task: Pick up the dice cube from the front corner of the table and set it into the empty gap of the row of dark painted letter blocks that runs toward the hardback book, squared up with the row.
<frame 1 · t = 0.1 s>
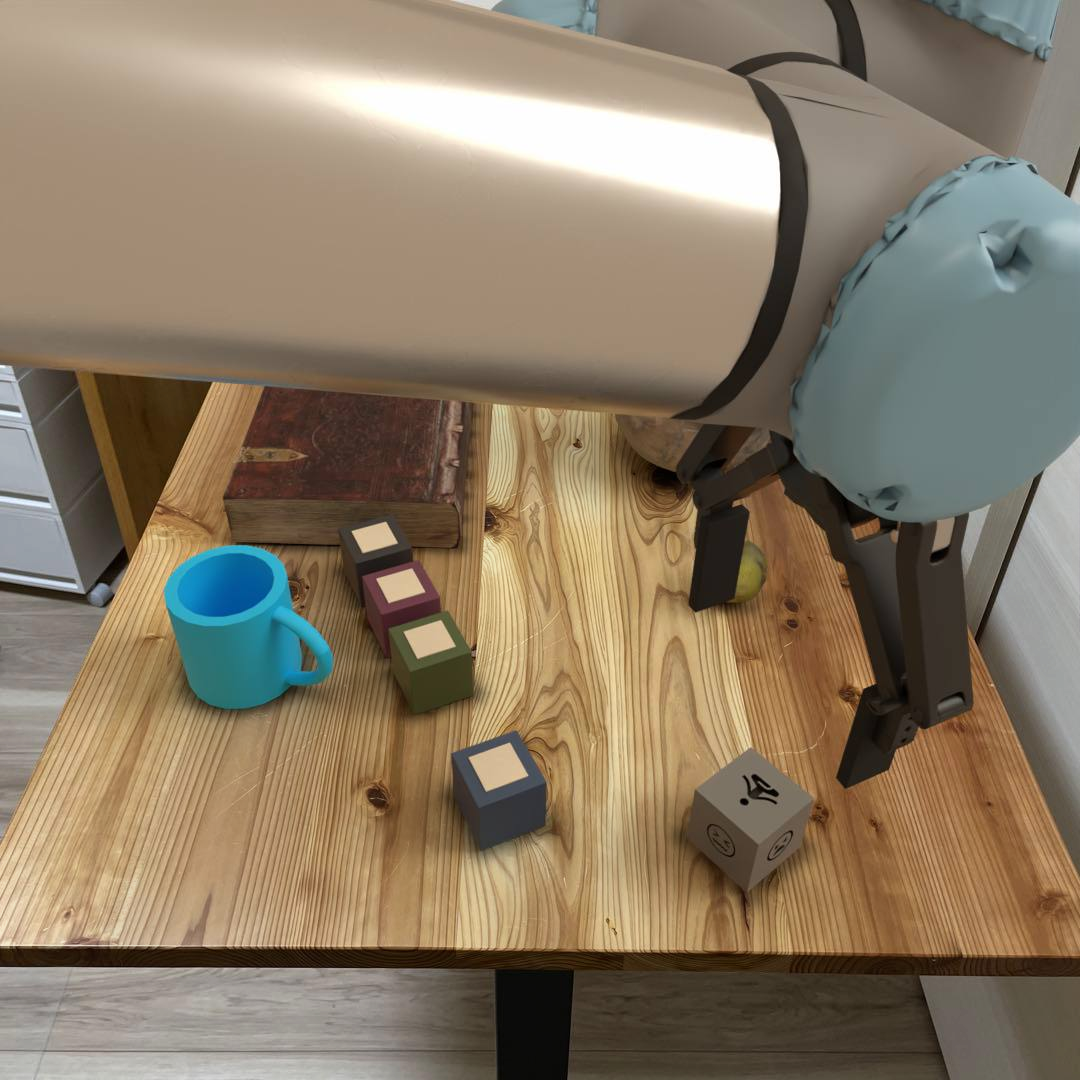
hand: (780, 681, 57), 15 cm above the table, tool pointing down, fingers open, 13 cm apart
bowl: (691, 453, 99), on the table
block c: (404, 629, 81), on the table
teapot: (445, 267, 128), on the table
hardback book: (369, 446, 99), on the table
dice cube: (742, 844, 67), on the table
block a: (499, 811, 69), on the table
mug: (268, 676, 77), on the table
block b: (432, 683, 77), on the table
block d: (379, 581, 85), on the table
lime: (734, 596, 85), on the table
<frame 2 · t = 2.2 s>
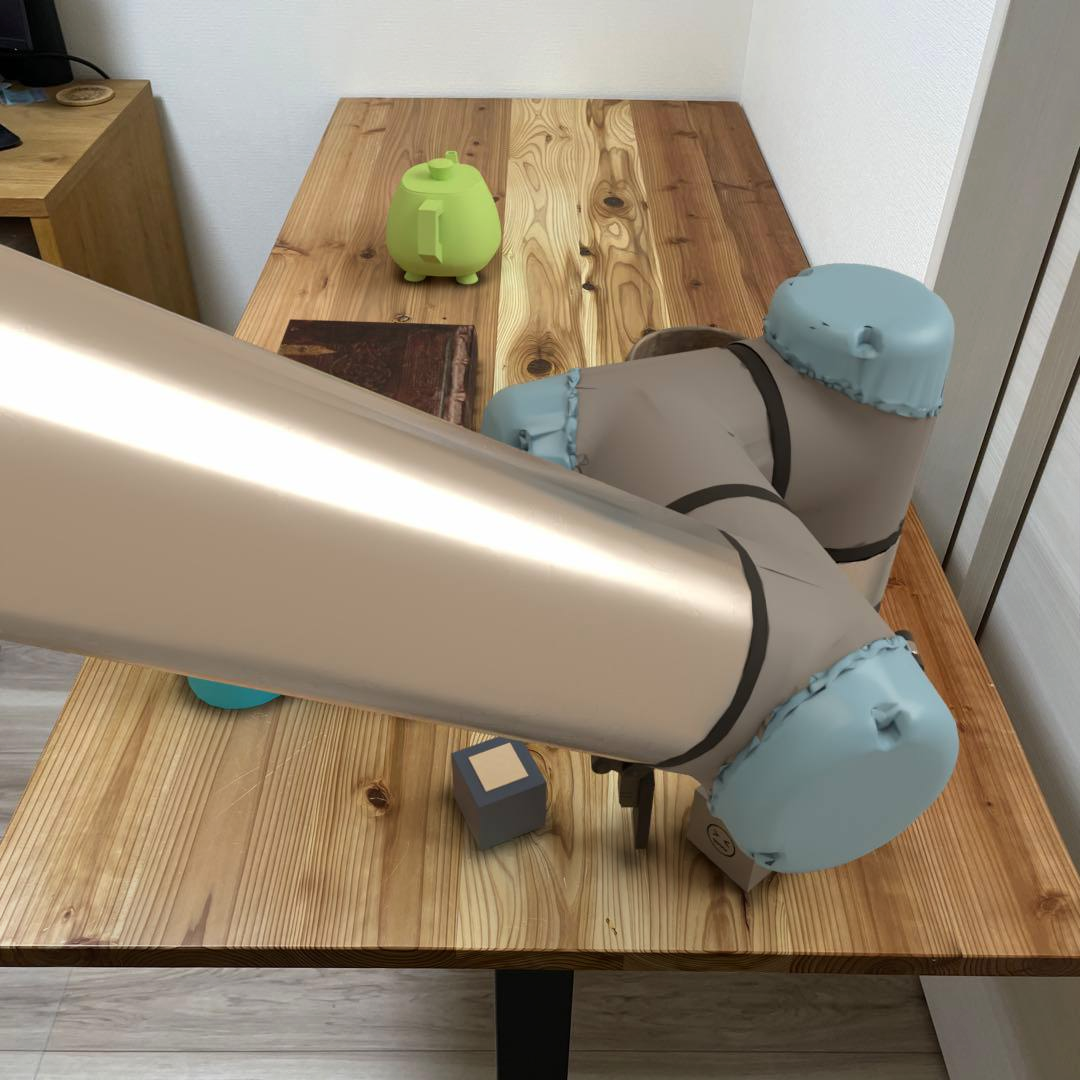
hand: (749, 831, 66), 1 cm above the table, tool pointing down, fingers open, 13 cm apart
nothing on the table moved.
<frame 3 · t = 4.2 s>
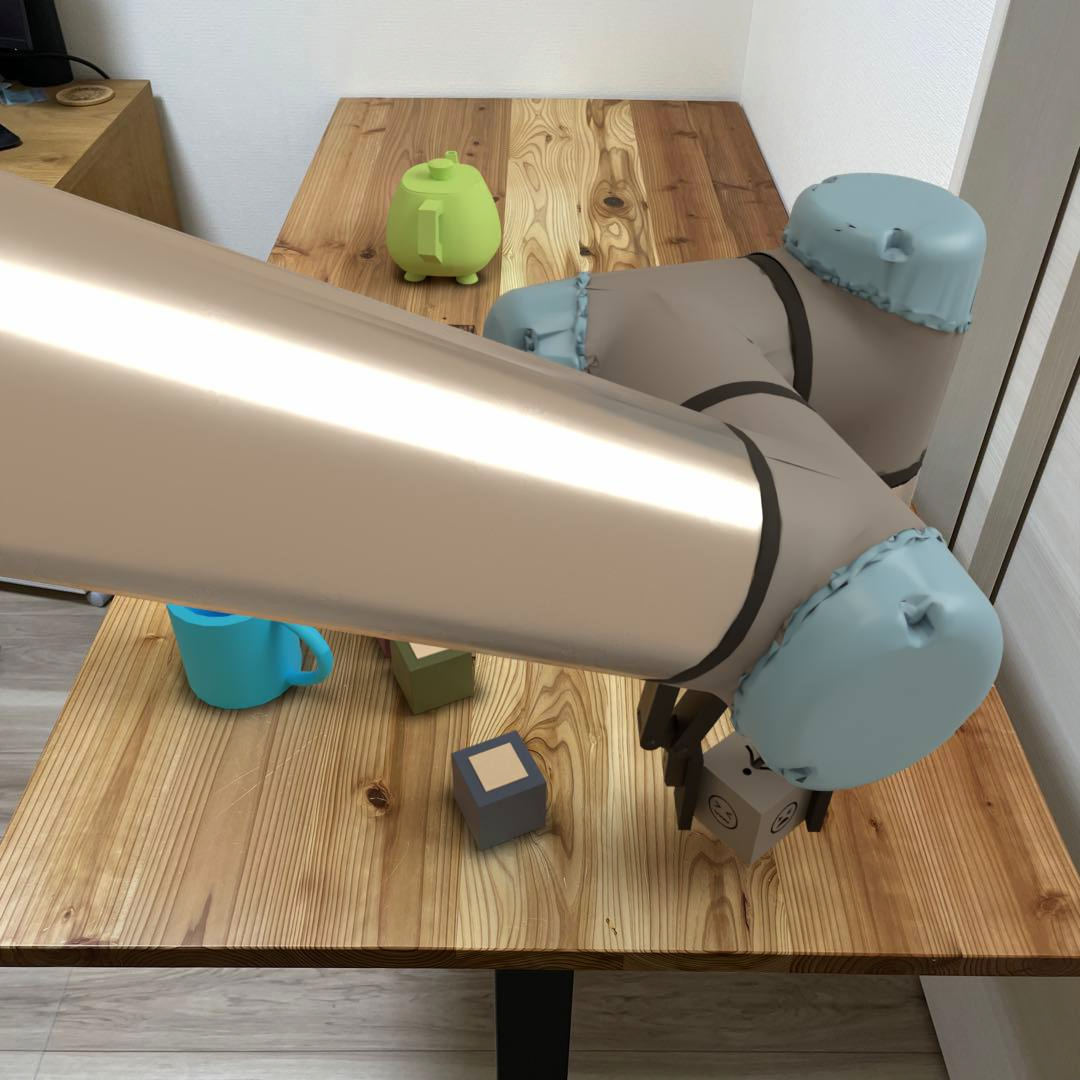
hand: (745, 812, 65), 3 cm above the table, tool pointing down, fingers closed on dice cube, 7 cm apart
dice cube: (745, 817, 65), point 3 cm above the table, touching gripper
everything else where it was.
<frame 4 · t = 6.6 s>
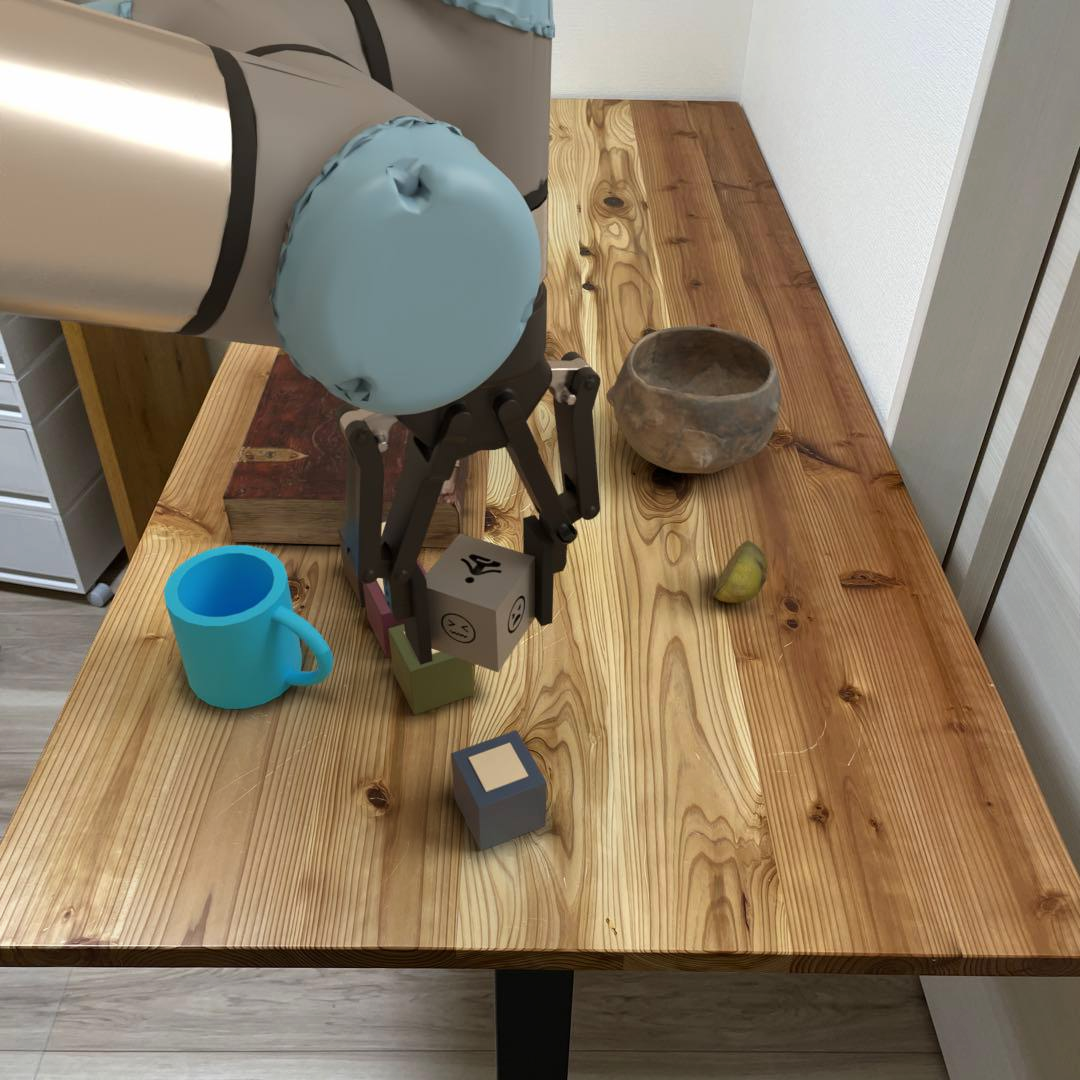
hand: (479, 628, 65), 12 cm above the table, tool pointing down, fingers closed on dice cube, 7 cm apart
dice cube: (480, 633, 65), point 11 cm above the table, touching gripper
everything else where it was.
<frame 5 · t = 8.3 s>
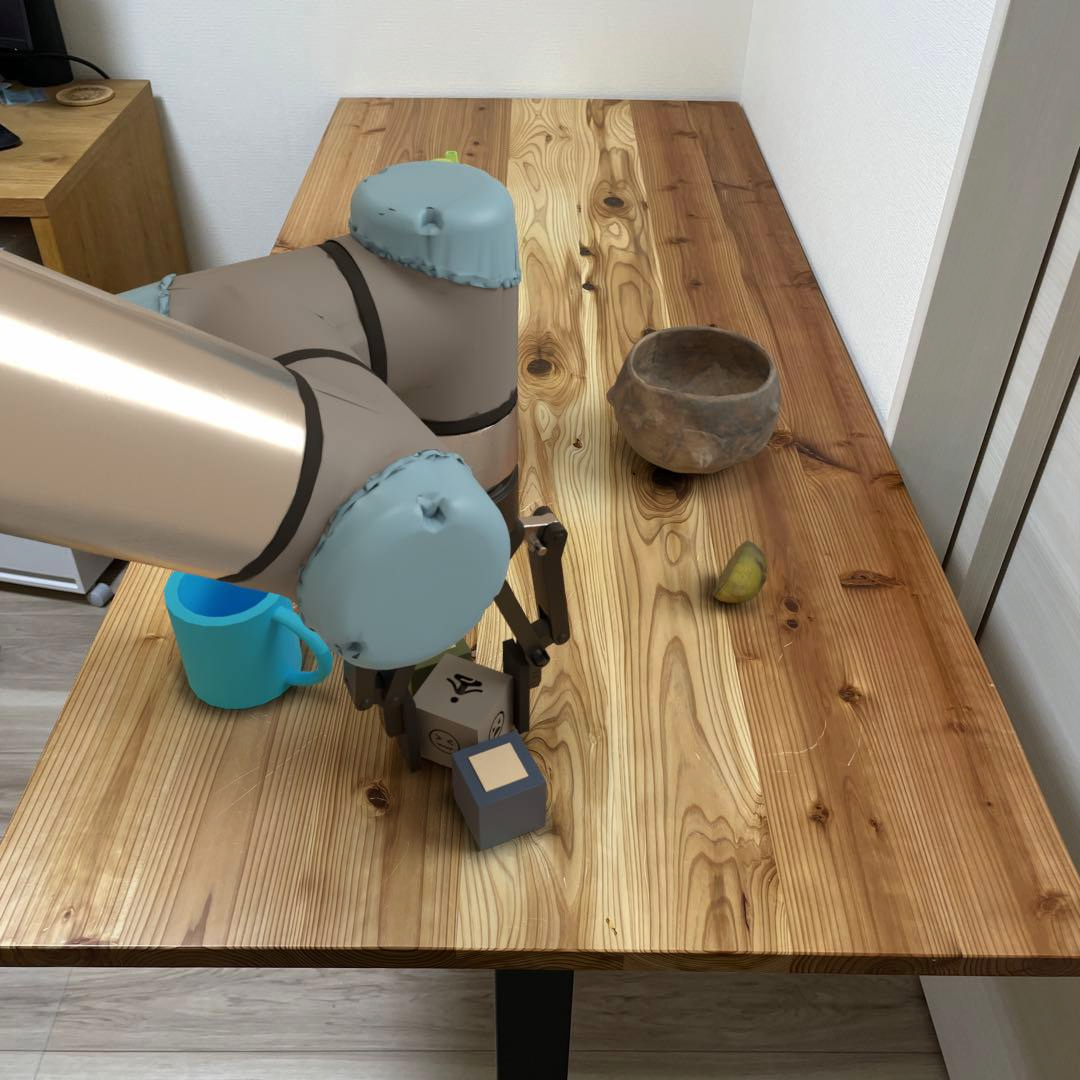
hand: (463, 736, 72), 1 cm above the table, tool pointing down, fingers closed on dice cube, 7 cm apart
dice cube: (464, 741, 72), on the table, touching gripper
everything else where it was.
when the fingers open (0 cm above the table, at t = 9.1 s): dice cube stays where it is, on the table.
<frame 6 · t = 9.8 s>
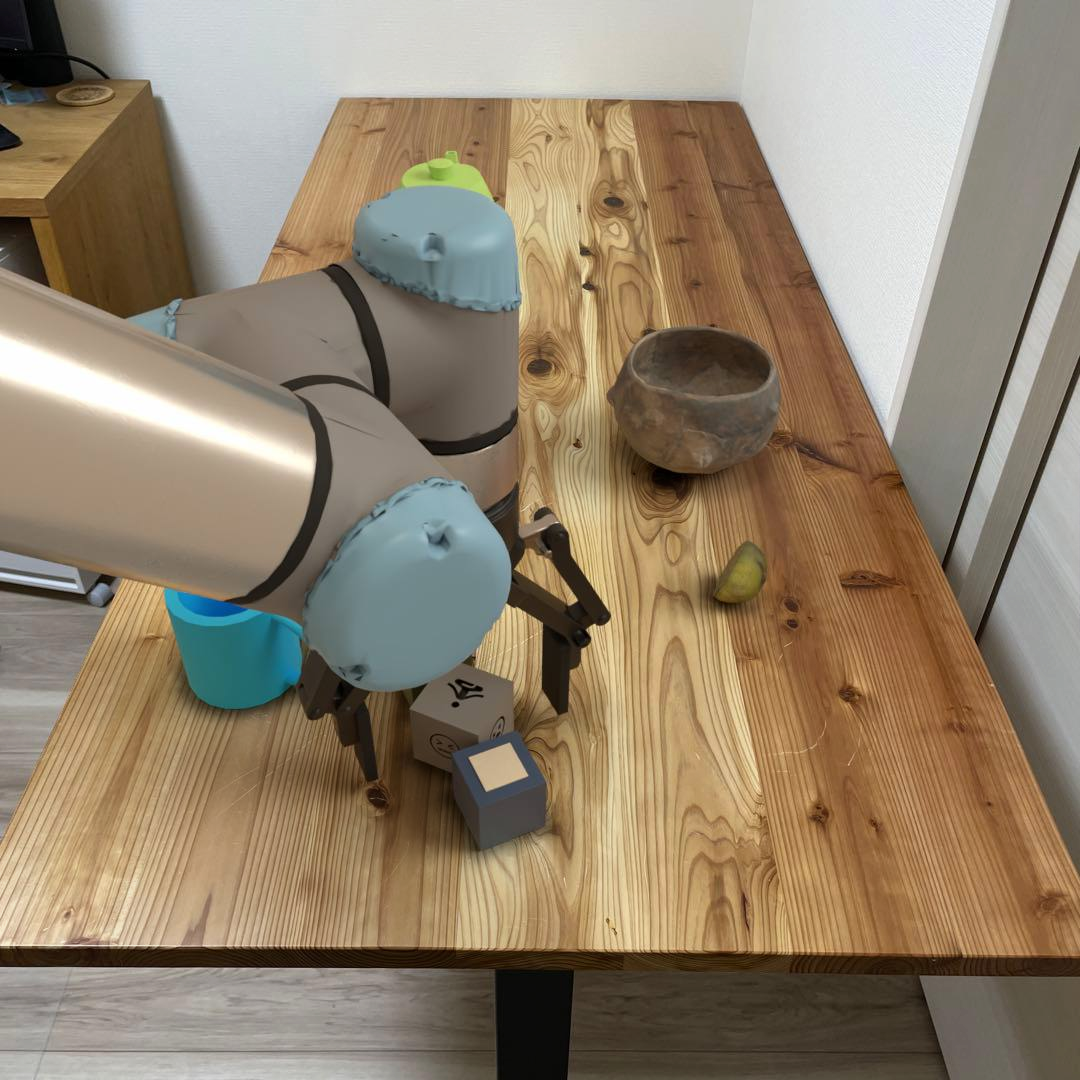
hand: (463, 732, 72), 1 cm above the table, tool pointing down, fingers open, 13 cm apart
dice cube: (464, 746, 73), on the table
everything else where it was.
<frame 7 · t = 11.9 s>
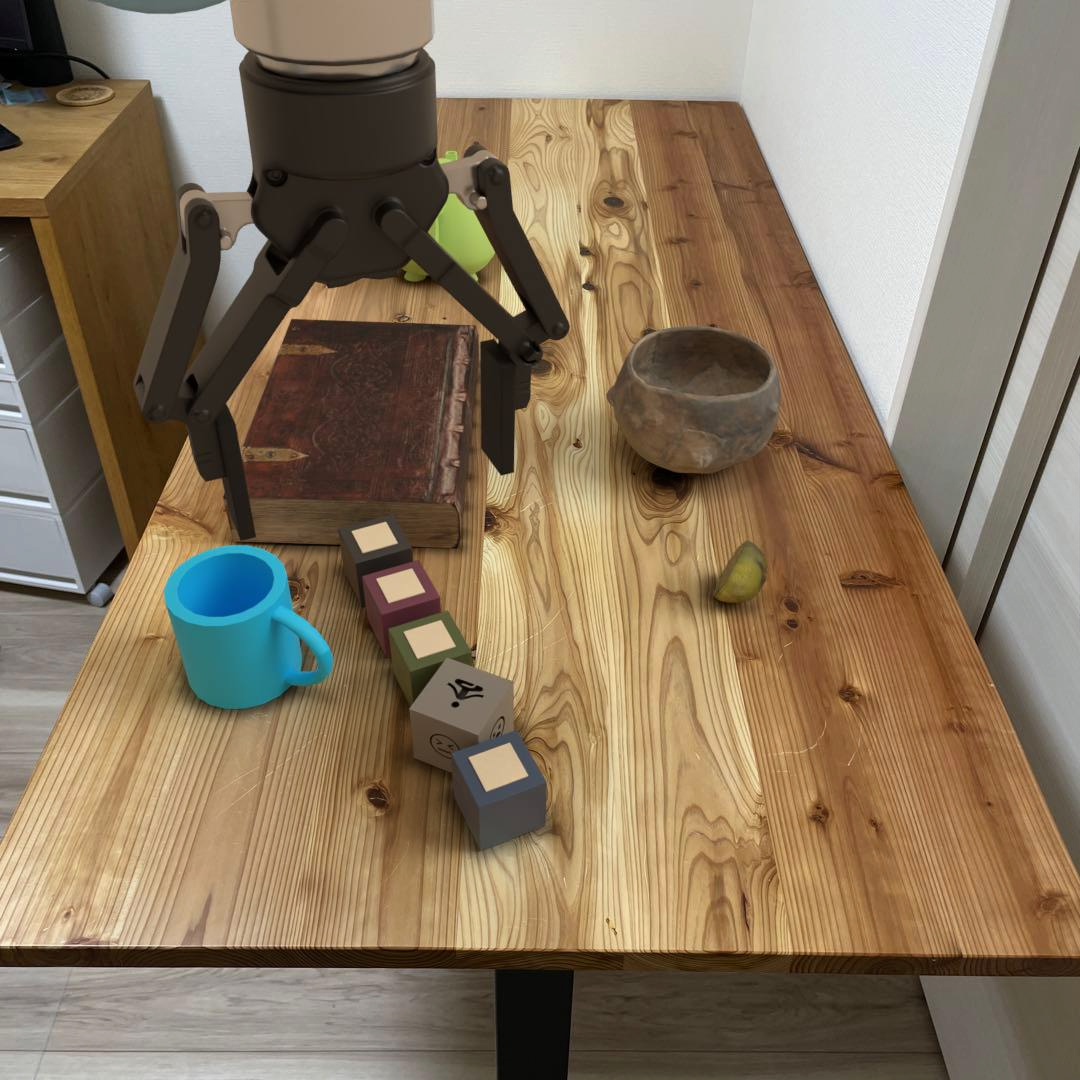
hand: (375, 491, 55), 24 cm above the table, tool pointing down, fingers open, 13 cm apart
nothing on the table moved.
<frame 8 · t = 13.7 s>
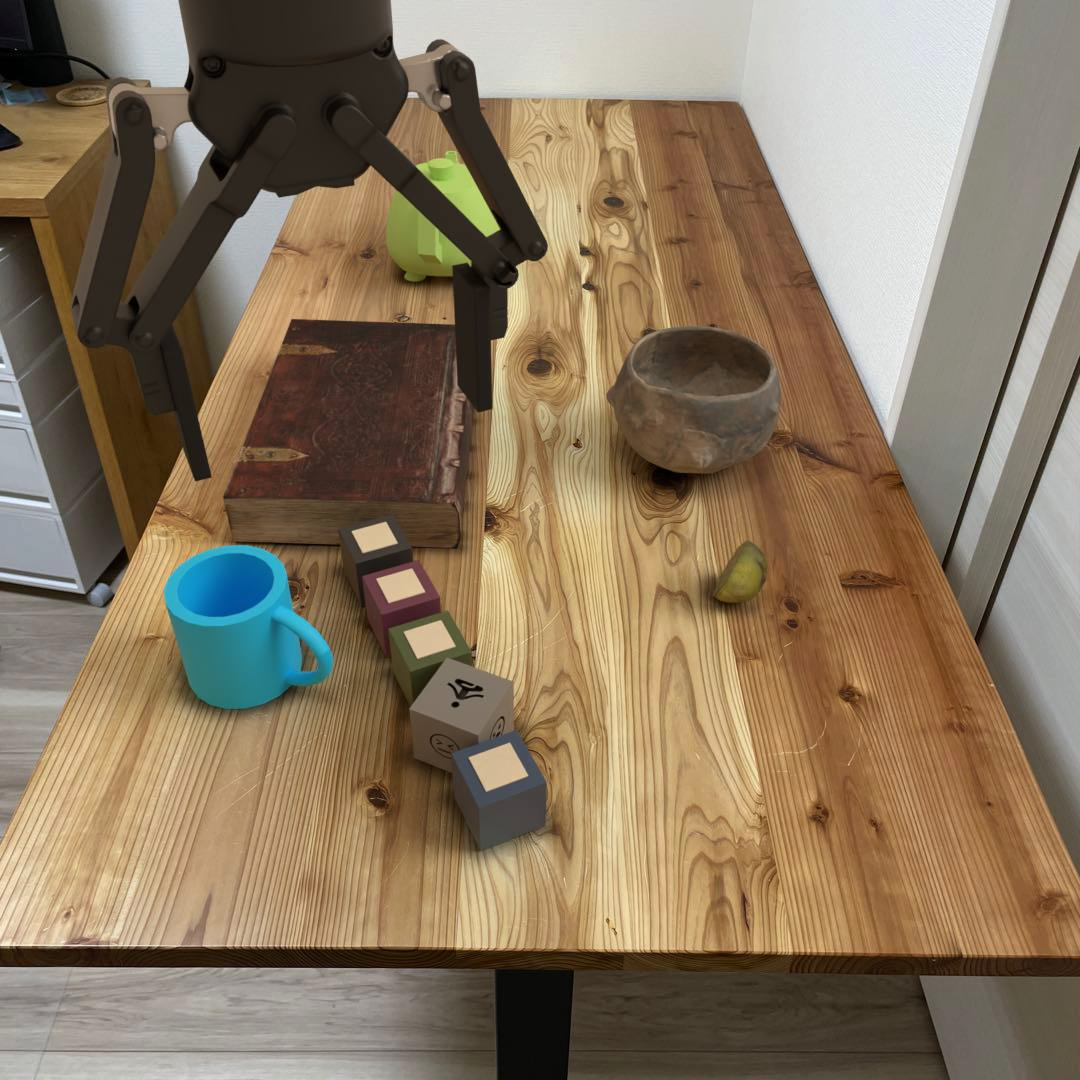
hand: (342, 429, 51), 29 cm above the table, tool pointing down, fingers open, 13 cm apart
nothing on the table moved.
at the end: dice cube 0.4 cm from the target spot on the table beside the hardback book, on the table; dice cube 6.0 cm from the block b (horizontally); the gripper is holding nothing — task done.
